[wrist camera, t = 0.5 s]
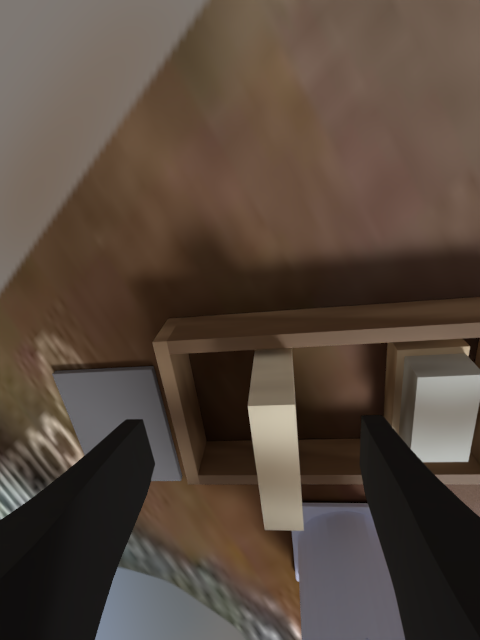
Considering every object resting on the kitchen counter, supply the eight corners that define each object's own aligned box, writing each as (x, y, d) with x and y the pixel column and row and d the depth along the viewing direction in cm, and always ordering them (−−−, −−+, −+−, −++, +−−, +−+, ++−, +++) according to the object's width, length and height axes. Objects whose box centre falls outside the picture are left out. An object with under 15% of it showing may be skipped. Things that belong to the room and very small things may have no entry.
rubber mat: (182, 476, 27) (180, 480, 27) (97, 476, 28) (95, 480, 28) (153, 365, 23) (151, 369, 23) (55, 370, 24) (52, 374, 24)
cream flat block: (297, 433, 24) (304, 530, 18) (268, 433, 25) (264, 529, 18) (290, 329, 21) (295, 404, 15) (257, 331, 21) (247, 406, 15)
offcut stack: (440, 425, 23) (469, 475, 19) (382, 426, 24) (400, 475, 20) (453, 329, 20) (490, 367, 17) (386, 333, 21) (409, 370, 17)
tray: (473, 445, 23) (498, 484, 20) (197, 449, 26) (188, 484, 23) (503, 295, 19) (540, 318, 16) (168, 318, 22) (152, 342, 19)
